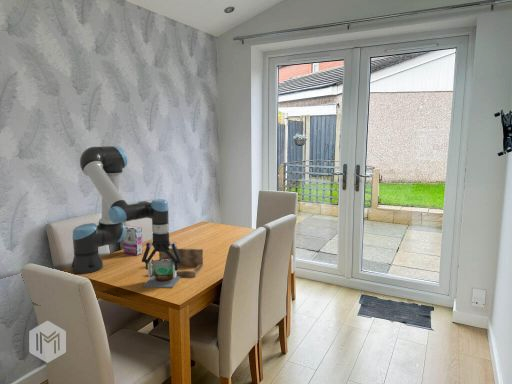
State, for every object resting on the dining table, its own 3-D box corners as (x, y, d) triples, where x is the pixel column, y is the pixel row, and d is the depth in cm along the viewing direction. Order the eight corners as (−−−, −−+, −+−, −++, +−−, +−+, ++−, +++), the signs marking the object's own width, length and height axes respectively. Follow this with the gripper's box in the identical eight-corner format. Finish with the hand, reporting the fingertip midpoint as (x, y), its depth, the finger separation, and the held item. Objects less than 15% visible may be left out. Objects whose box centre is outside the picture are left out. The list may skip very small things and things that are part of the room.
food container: (151, 283, 167) (151, 262, 166) (151, 278, 173) (150, 258, 171) (178, 280, 171) (178, 260, 169) (177, 276, 177) (177, 256, 175)
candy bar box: (143, 253, 216) (142, 227, 213) (137, 255, 211) (135, 228, 209) (130, 250, 221) (128, 225, 218) (123, 253, 216) (122, 226, 214)
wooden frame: (148, 275, 180) (147, 258, 178) (160, 263, 197) (159, 248, 196) (195, 276, 178) (194, 259, 176) (203, 265, 195) (202, 249, 194)
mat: (142, 287, 165) (142, 285, 165) (153, 275, 179) (153, 274, 179) (172, 287, 164) (172, 286, 164) (181, 276, 178) (181, 275, 178)
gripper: (132, 233, 166) (135, 278, 169) (183, 234, 164) (184, 280, 167) (139, 229, 173) (141, 272, 176) (187, 230, 171) (188, 274, 174)
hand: (162, 276), depth 171 cm, fingers open, 12 cm apart
